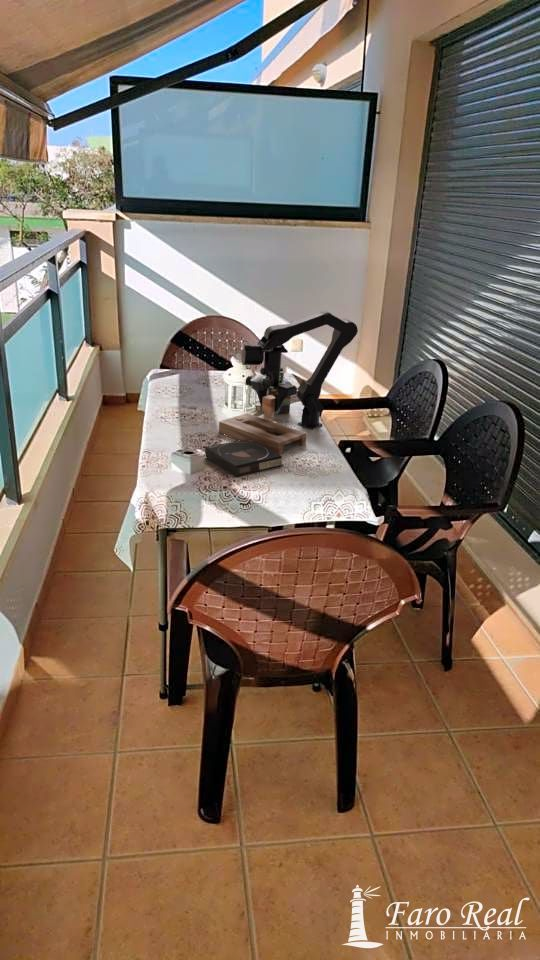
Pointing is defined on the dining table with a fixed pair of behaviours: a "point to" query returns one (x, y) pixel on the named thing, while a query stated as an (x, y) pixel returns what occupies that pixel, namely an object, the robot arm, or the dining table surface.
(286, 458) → the dining table surface
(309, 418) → the robot arm
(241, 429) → the keyhole plate
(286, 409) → the chalk box
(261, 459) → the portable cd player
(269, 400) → the copper peg
